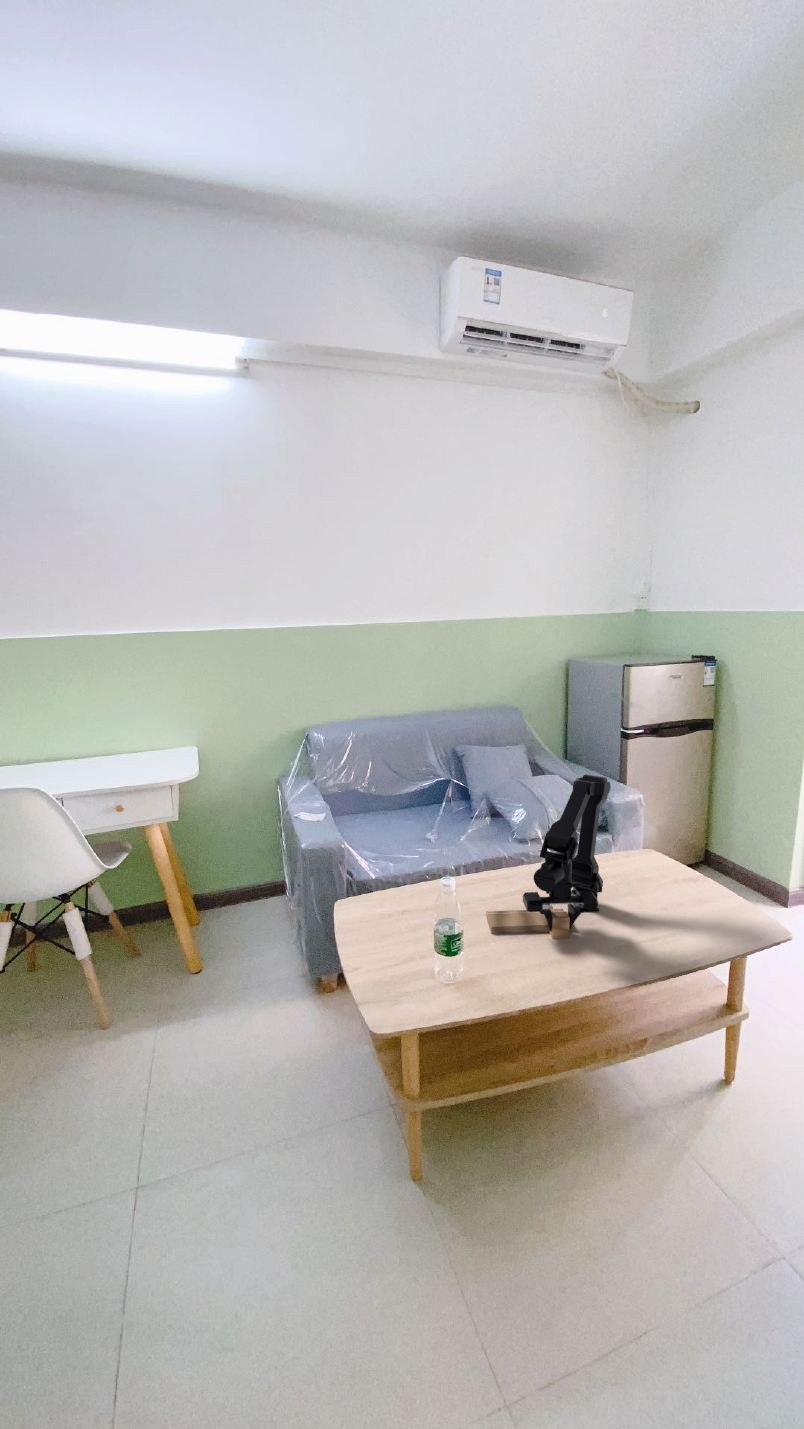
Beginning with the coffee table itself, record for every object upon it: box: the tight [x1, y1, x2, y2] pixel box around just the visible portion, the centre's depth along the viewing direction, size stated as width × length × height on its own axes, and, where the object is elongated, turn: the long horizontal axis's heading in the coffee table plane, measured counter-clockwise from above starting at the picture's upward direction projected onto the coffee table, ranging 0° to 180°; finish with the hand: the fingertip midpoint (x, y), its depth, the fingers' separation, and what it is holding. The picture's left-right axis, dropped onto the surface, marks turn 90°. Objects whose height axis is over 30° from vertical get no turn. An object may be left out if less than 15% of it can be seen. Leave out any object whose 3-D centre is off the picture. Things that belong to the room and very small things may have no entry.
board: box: [485, 908, 573, 935], centre depth 152 cm, size 22×8×2 cm, turn 91°
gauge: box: [548, 904, 570, 940], centre depth 149 cm, size 4×11×6 cm, turn 1°
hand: (559, 929), depth 146 cm, fingers closed on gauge, 4 cm apart
